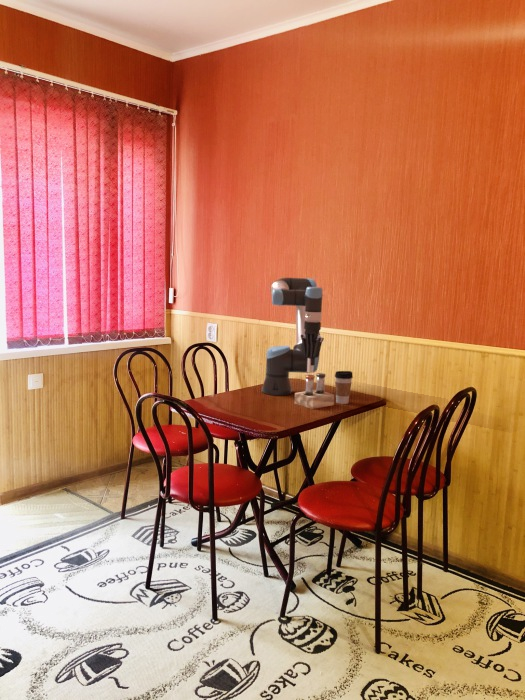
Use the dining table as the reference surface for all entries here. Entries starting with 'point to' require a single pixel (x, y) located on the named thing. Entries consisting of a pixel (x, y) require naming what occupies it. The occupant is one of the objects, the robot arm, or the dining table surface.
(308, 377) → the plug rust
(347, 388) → the coffee cup
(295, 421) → the dining table surface
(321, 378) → the grey capped glass jar
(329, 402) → the beech block
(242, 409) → the dining table surface
